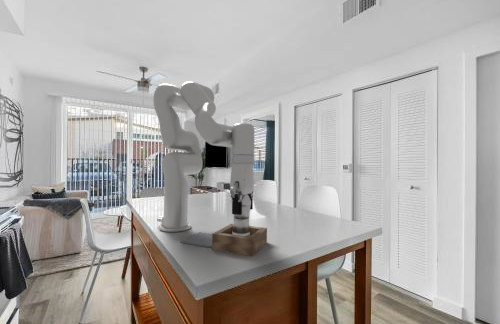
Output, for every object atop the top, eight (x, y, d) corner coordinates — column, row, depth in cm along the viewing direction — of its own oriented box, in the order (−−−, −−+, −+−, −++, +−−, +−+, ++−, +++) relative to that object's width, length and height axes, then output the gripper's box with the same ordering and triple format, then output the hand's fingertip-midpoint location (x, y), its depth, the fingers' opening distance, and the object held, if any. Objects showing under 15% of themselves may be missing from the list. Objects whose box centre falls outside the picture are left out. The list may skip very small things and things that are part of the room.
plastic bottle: (235, 250, 77) (236, 187, 77) (228, 243, 83) (229, 185, 83) (253, 247, 79) (255, 187, 79) (245, 241, 86) (247, 185, 86)
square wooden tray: (212, 249, 77) (212, 233, 77) (230, 237, 90) (231, 223, 90) (253, 256, 72) (253, 239, 72) (266, 242, 85) (267, 228, 85)
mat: (180, 242, 83) (180, 241, 83) (199, 233, 94) (199, 232, 94) (210, 247, 78) (210, 246, 78) (227, 237, 90) (227, 236, 90)
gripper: (242, 161, 91) (242, 206, 90) (221, 160, 74) (220, 215, 74) (261, 161, 88) (261, 208, 88) (243, 160, 72) (243, 217, 71)
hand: (242, 211), depth 81 cm, fingers open, 9 cm apart
